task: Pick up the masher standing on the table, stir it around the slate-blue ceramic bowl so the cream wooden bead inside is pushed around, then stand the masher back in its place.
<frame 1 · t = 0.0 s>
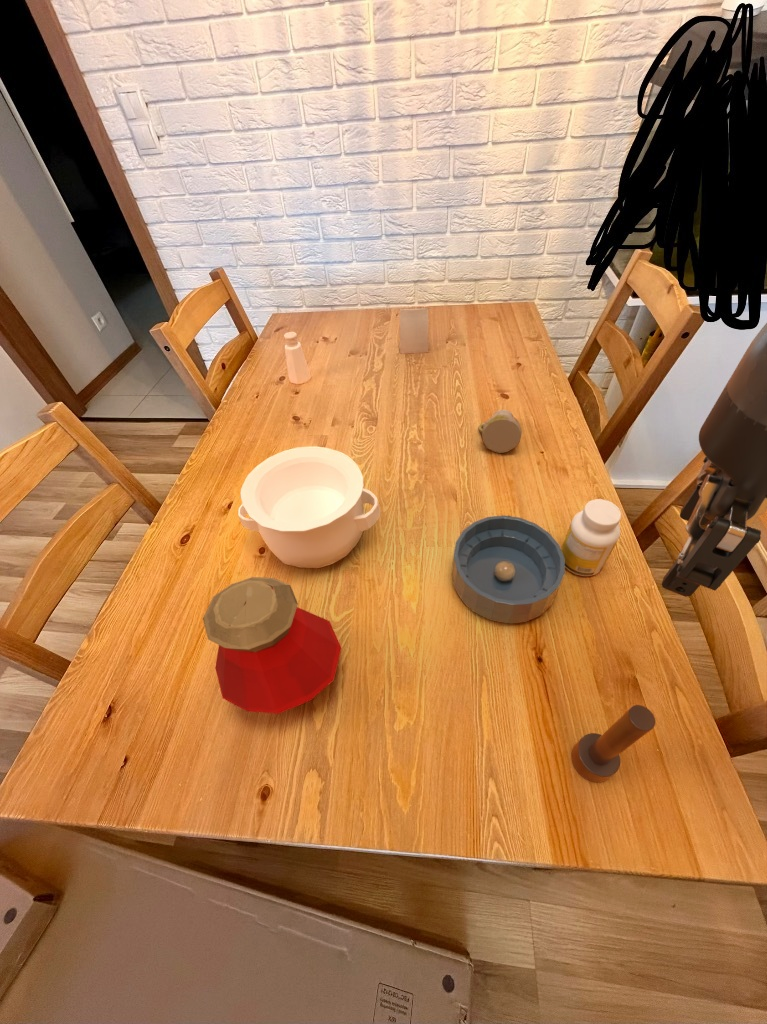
hand: (683, 552, 40), 26 cm above the table, tool pointing down, fingers open, 8 cm apart
pill bottle: (580, 561, 71), on the table
pot: (317, 536, 77), on the table
masher: (591, 760, 53), on the table
bowl: (502, 579, 69), on the table
mug: (498, 439, 91), on the table
bead: (504, 571, 68), point 2 cm above the table, touching bowl
red jar: (289, 676, 62), on the table
grey rectangular block: (414, 349, 114), on the table
salt shaker: (300, 379, 109), on the table
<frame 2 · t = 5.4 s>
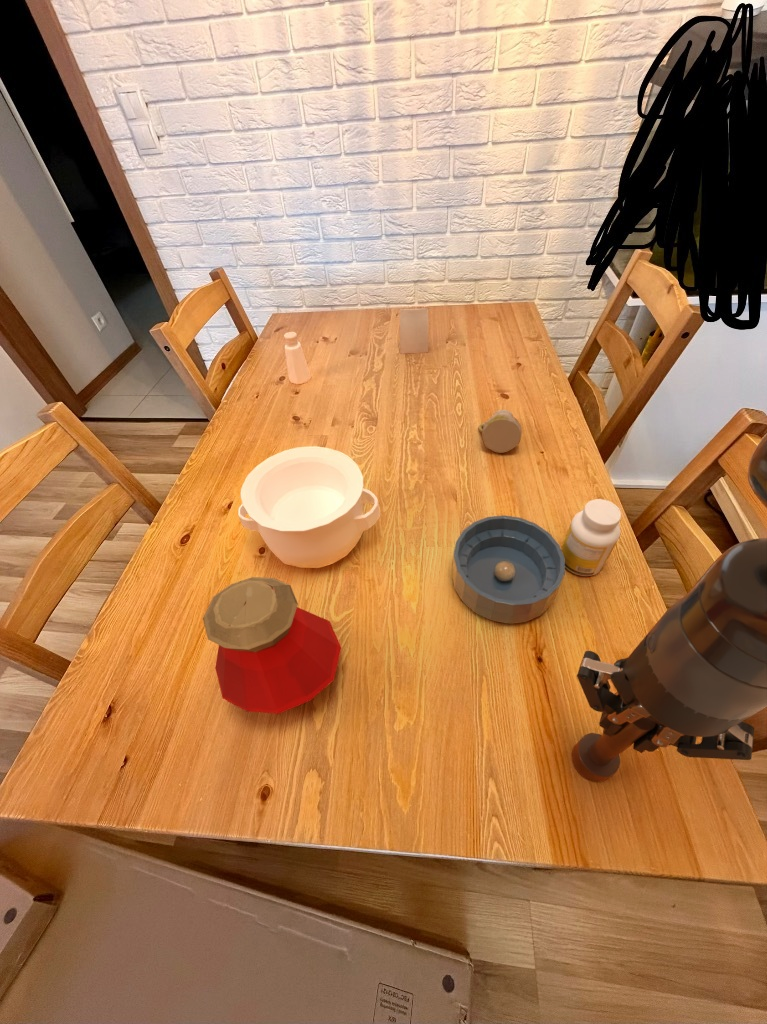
hand: (623, 733, 45), 11 cm above the table, tool pointing down, fingers closed on masher, 2 cm apart
masher: (591, 760, 53), on the table, touching gripper
everything else where it was.
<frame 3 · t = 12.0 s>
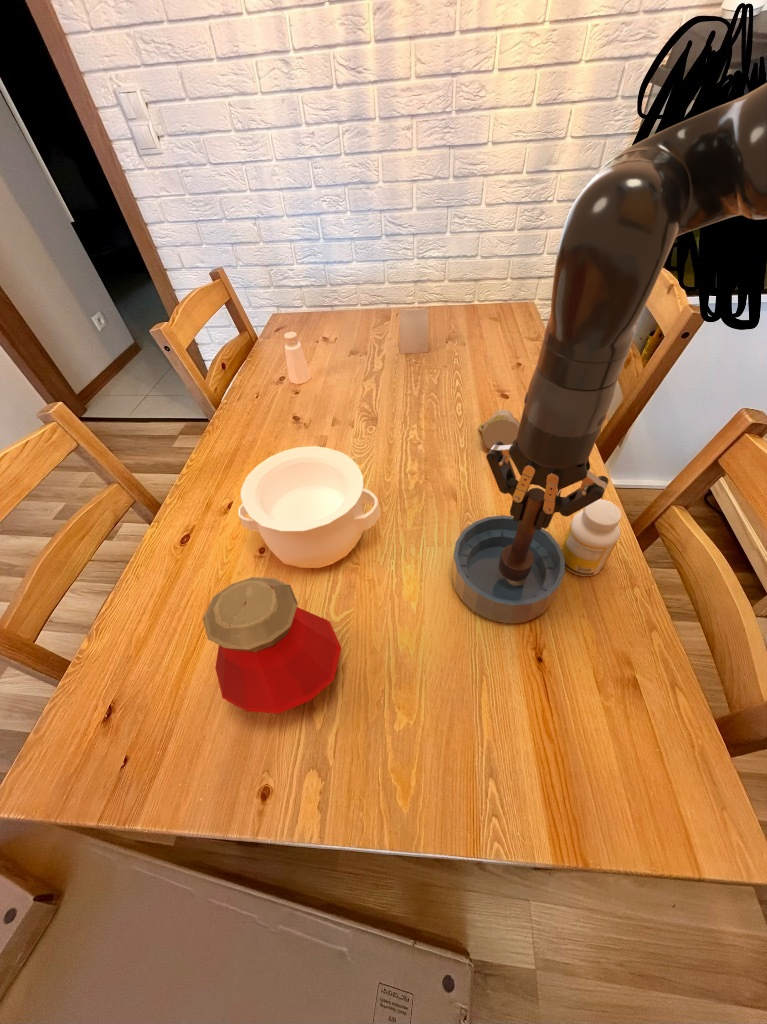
hand: (528, 520, 58), 15 cm above the table, tool pointing down, fingers closed on masher, 2 cm apart
masher: (513, 568, 66), point 4 cm above the table, touching bead, gripper
bead: (516, 576, 67), point 2 cm above the table, tilted 58°, touching bowl, masher
everything else where it was.
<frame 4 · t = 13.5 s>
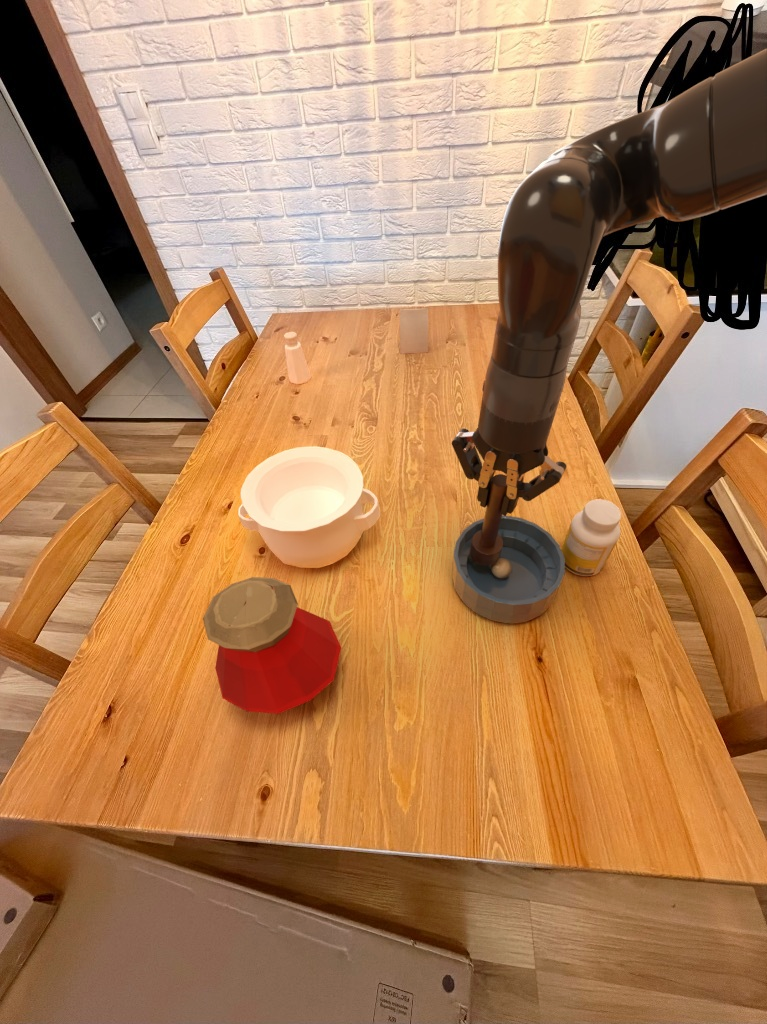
hand: (495, 506, 60), 15 cm above the table, tool pointing down, fingers closed on masher, 2 cm apart
masher: (484, 553, 68), point 4 cm above the table, touching bead, gripper
bead: (501, 568, 68), point 2 cm above the table, tilted 38°, touching bowl, masher
everything else where it was.
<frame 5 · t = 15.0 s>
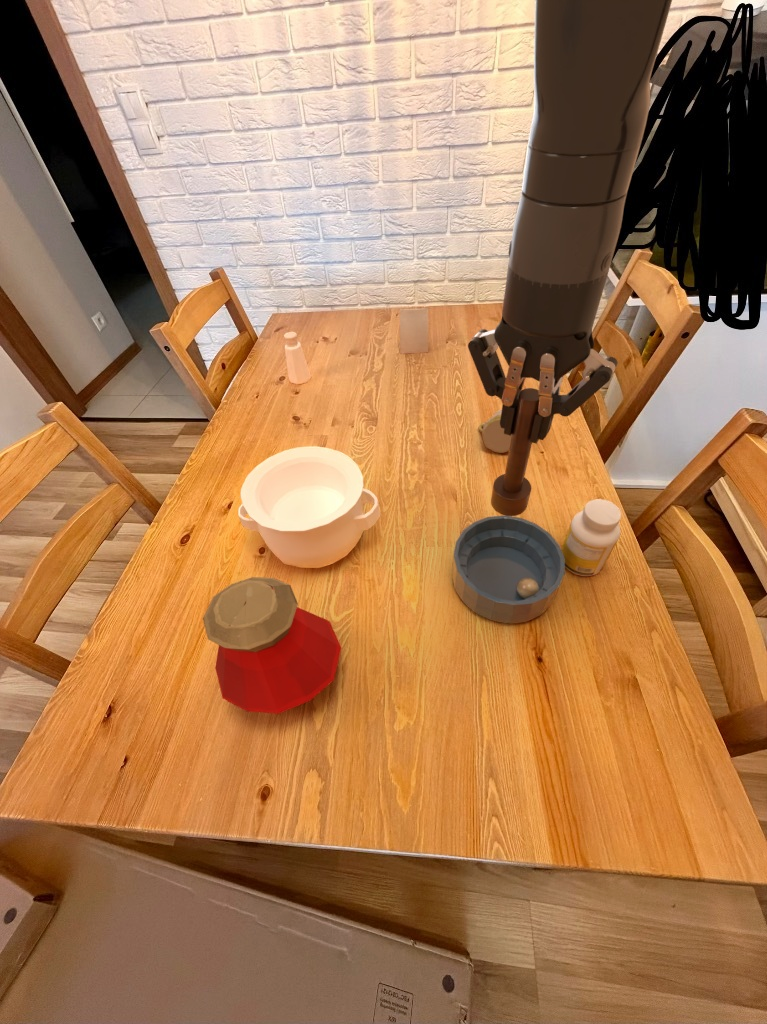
hand: (522, 433, 48), 28 cm above the table, tool pointing down, fingers closed on masher
masher: (508, 502, 57), point 17 cm above the table, touching gripper
bead: (527, 588, 66), point 2 cm above the table, tilted 143°, touching bowl
everything else where it was.
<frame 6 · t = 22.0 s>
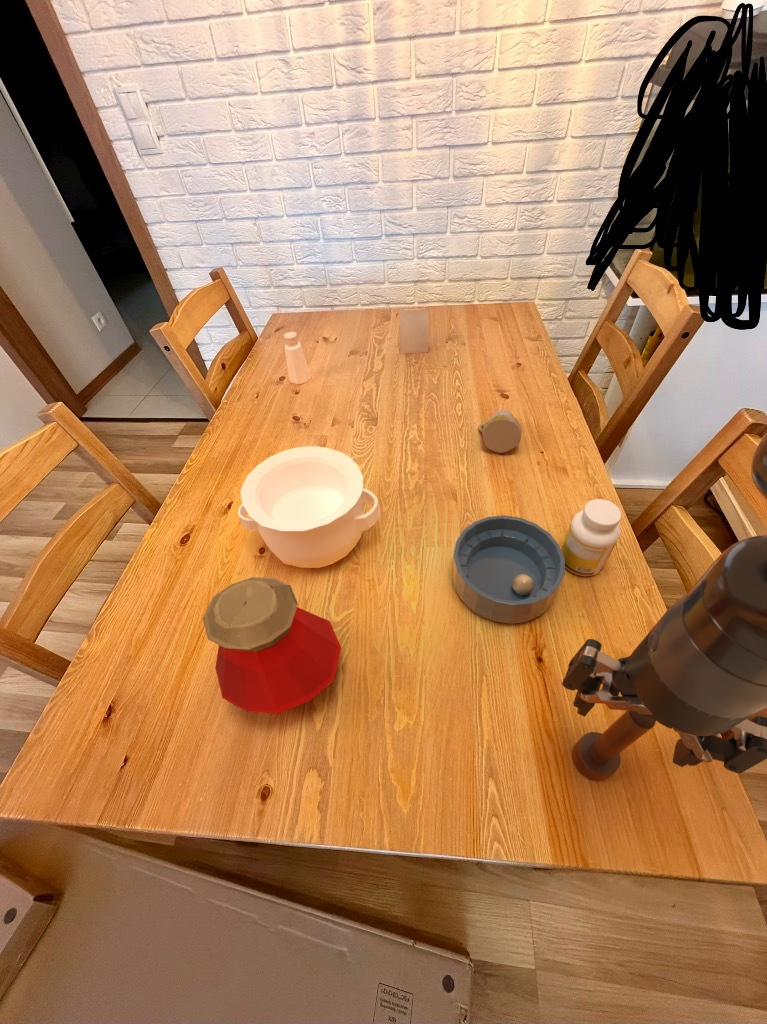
hand: (628, 729, 44), 12 cm above the table, tool pointing down, fingers open, 8 cm apart
masher: (591, 759, 53), on the table
bead: (523, 584, 66), point 2 cm above the table, tilted 115°, touching bowl
everything else where it was.
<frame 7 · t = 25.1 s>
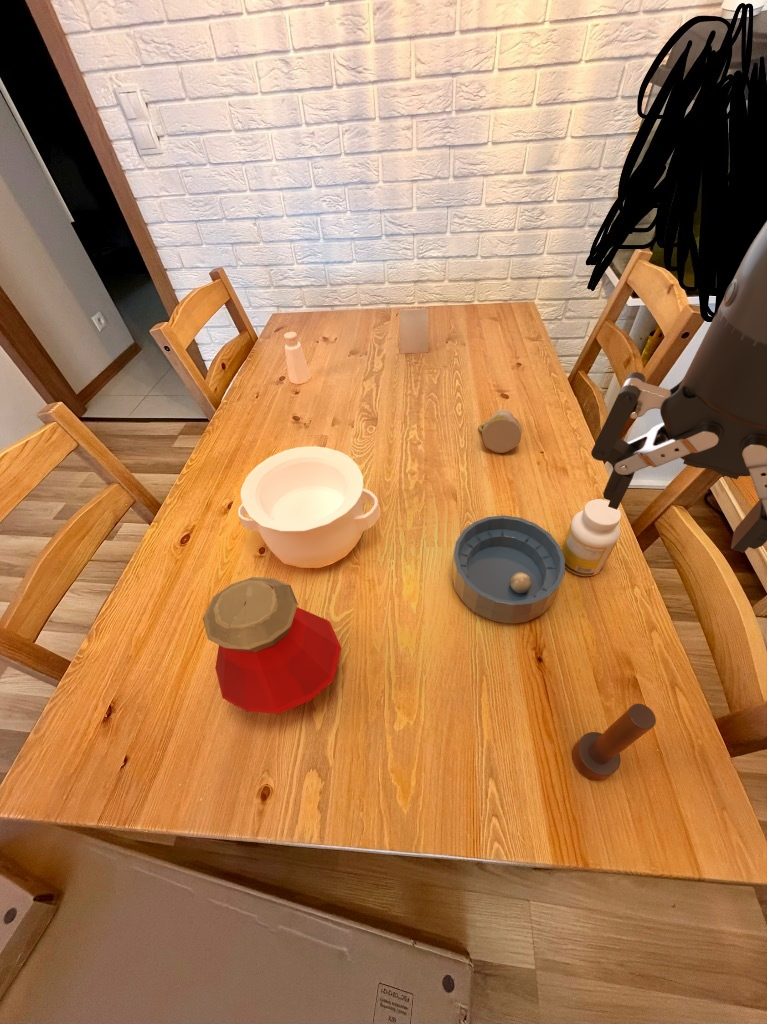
hand: (672, 520, 35), 32 cm above the table, tool pointing down, fingers open, 8 cm apart
bead: (520, 582, 66), point 2 cm above the table, tilted 102°, touching bowl
everything else where it was.
at the end: bead moved 2.8 cm from its start; bead inside the target area in the bowl (2.8 cm from its centre), point 2.3 cm above the bowl's base; masher tilted 0° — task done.
